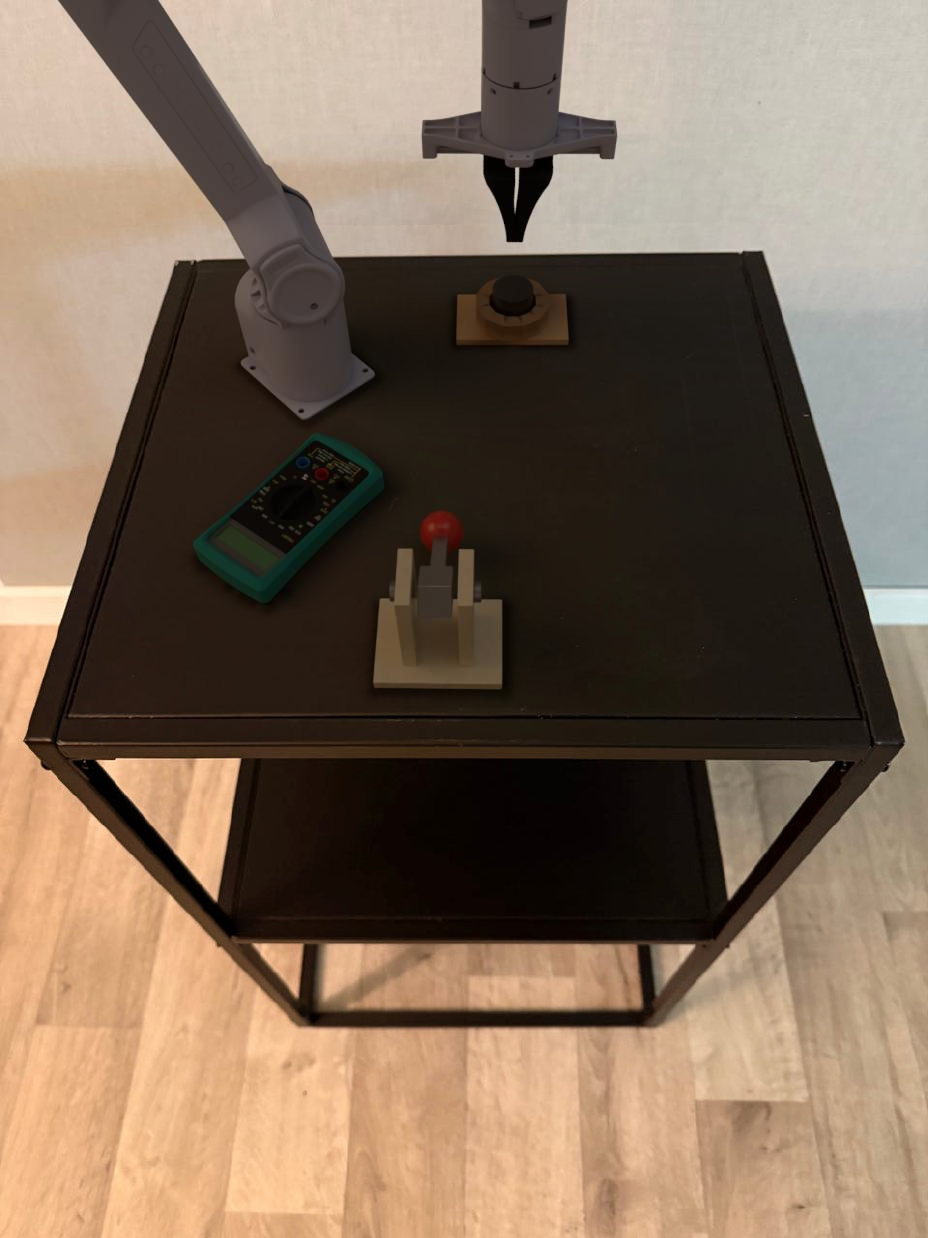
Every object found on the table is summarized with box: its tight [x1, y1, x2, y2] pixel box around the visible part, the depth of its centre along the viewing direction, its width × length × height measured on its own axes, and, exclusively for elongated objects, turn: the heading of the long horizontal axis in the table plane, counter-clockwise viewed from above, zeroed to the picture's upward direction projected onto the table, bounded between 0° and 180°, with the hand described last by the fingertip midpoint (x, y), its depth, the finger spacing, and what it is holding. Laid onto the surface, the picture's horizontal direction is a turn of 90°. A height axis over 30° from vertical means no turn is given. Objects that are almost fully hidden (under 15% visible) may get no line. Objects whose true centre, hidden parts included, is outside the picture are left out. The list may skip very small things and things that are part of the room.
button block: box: [455, 277, 570, 346], centre depth 85 cm, size 10×6×2 cm, turn 89°
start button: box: [492, 274, 534, 317], centre depth 83 cm, size 4×4×2 cm
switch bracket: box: [372, 548, 503, 690], centre depth 64 cm, size 7×9×9 cm
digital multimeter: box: [192, 432, 385, 604], centre depth 73 cm, size 7×15×3 cm, turn 143°
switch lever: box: [417, 510, 465, 618], centre depth 66 cm, size 12×3×3 cm, turn 179°
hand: (514, 234), depth 78 cm, fingers closed
